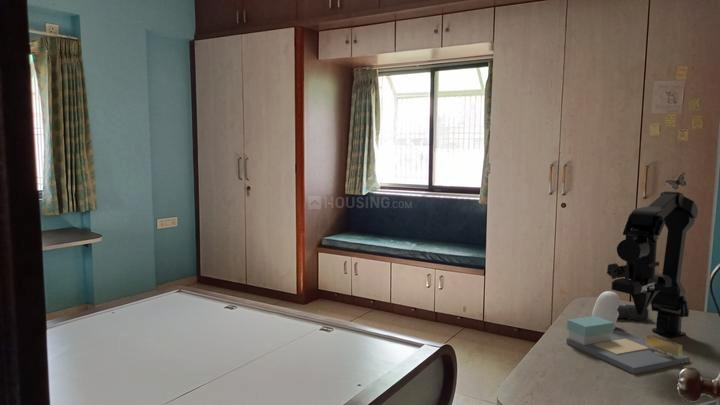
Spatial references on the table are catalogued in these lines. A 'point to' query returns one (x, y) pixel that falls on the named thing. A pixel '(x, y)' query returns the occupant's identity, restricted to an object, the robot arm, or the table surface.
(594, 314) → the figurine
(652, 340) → the yellow rectangular block
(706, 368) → the table surface
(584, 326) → the cover
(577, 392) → the table surface
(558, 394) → the table surface
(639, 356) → the panel
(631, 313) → the flashlight
